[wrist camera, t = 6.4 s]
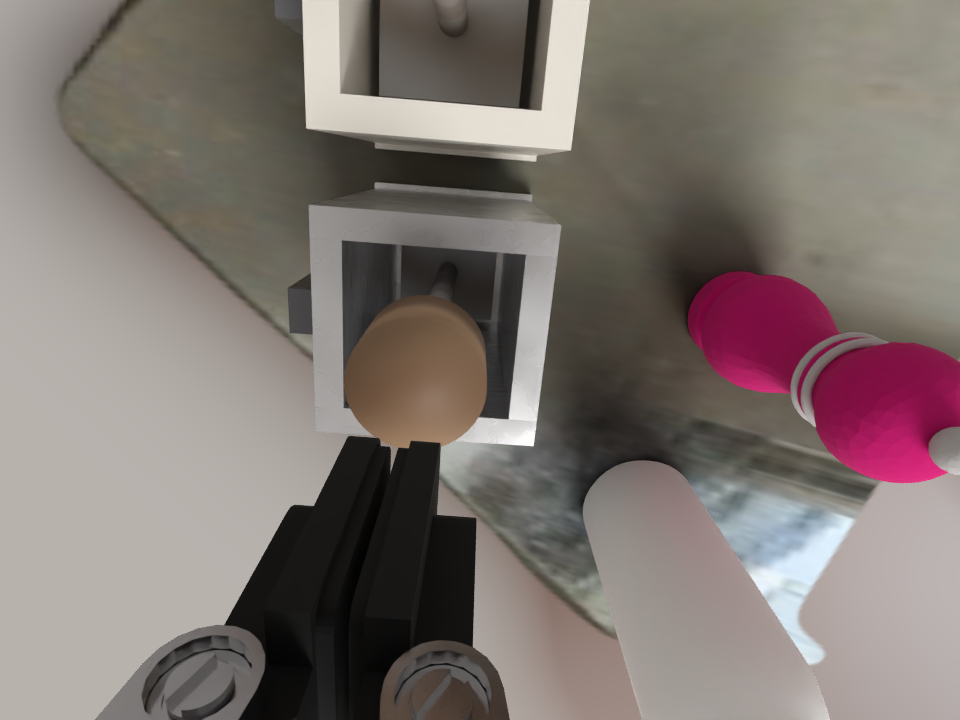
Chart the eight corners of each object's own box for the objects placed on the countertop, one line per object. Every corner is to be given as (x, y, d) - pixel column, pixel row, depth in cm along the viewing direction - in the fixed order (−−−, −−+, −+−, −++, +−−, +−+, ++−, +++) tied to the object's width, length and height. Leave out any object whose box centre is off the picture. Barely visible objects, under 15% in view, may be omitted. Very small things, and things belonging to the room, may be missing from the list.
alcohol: (663, 435, 41) (1067, 1028, 13) (706, 518, 44) (1118, 1160, 16) (561, 485, 43) (724, 1112, 14) (608, 562, 45) (824, 1220, 17)
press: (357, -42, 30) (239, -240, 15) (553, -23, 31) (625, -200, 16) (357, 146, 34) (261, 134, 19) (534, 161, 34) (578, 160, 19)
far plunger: (403, 218, 34) (314, 284, 15) (498, 225, 34) (522, 299, 16) (401, 310, 36) (320, 465, 17) (490, 317, 36) (503, 477, 18)
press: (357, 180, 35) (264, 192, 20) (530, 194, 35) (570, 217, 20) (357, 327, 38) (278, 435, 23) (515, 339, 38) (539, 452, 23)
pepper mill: (659, 334, 38) (833, 497, 20) (721, 244, 36) (985, 331, 17) (739, 378, 39) (976, 573, 21) (804, 294, 37) (1134, 427, 19)
